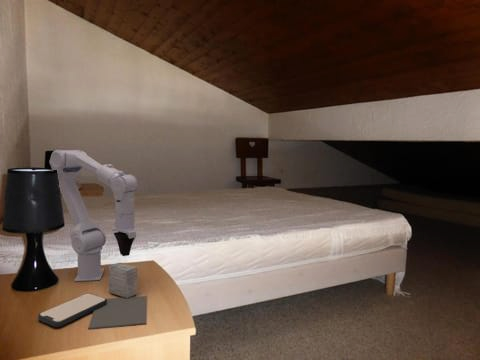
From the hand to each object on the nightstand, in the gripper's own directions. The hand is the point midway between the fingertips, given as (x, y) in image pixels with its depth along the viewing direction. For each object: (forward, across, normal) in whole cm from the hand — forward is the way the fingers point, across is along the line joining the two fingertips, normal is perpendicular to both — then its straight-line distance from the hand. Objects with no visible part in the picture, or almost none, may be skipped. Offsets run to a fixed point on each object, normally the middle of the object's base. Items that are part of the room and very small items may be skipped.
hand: (124, 254), depth 114 cm
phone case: (+10, +10, -17) cm, 22 cm away
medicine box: (+10, +6, -2) cm, 12 cm away
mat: (+10, +16, -6) cm, 20 cm away
